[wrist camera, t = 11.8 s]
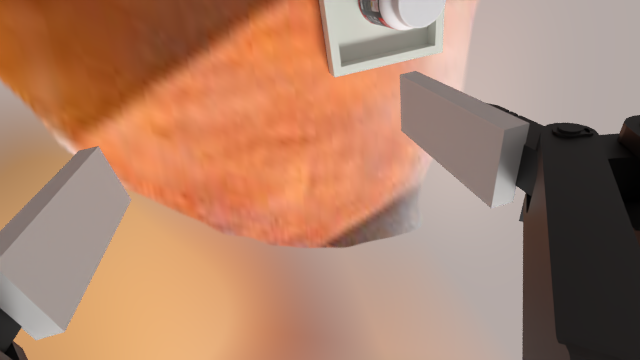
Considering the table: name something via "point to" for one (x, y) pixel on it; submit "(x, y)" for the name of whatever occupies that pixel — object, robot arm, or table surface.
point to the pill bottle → (401, 12)
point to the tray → (372, 39)
